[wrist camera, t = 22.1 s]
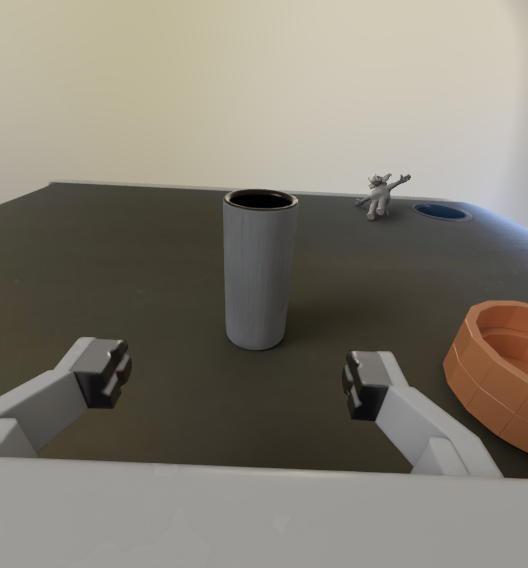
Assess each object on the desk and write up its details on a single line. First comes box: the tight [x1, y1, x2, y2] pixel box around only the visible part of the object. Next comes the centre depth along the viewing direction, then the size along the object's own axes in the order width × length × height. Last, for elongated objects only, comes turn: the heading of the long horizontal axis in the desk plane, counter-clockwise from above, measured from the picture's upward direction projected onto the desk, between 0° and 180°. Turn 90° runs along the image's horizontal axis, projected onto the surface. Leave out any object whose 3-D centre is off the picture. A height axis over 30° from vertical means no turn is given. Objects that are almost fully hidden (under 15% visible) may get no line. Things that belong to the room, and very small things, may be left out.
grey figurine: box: [355, 174, 411, 220], centre depth 49 cm, size 10×6×9 cm
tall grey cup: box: [223, 189, 298, 350], centre depth 21 cm, size 4×4×10 cm
